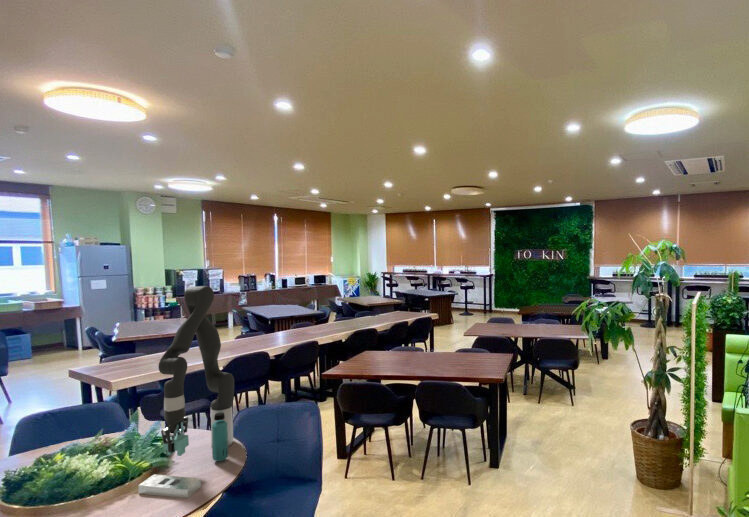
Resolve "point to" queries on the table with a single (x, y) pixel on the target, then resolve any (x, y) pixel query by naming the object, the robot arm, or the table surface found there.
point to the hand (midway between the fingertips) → (176, 448)
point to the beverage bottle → (219, 438)
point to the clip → (178, 444)
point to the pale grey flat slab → (169, 486)
